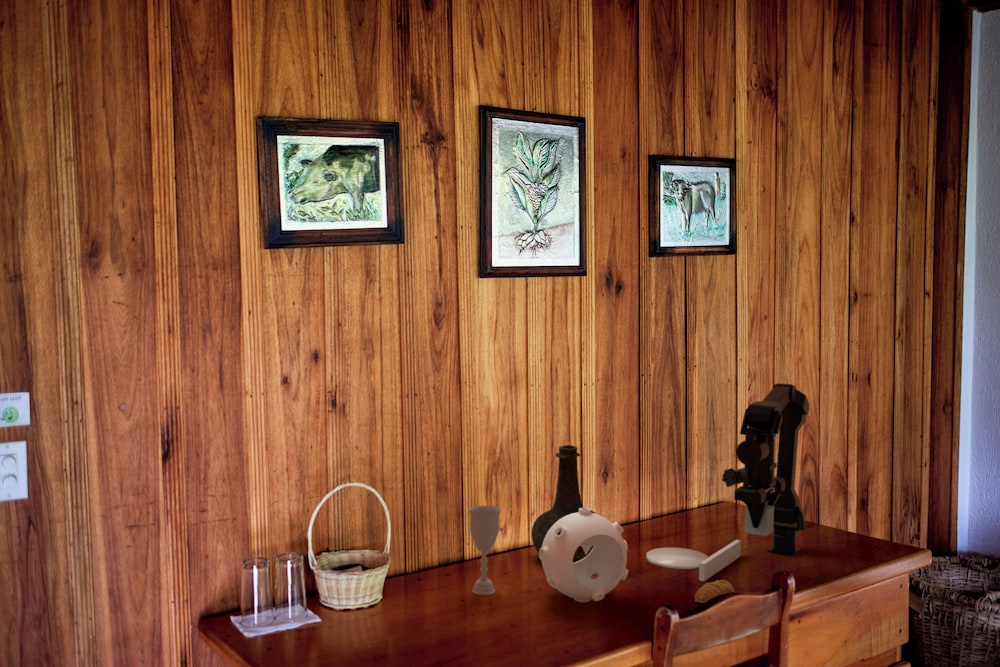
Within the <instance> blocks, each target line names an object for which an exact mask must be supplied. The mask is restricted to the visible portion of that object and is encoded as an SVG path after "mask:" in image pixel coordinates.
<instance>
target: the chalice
mask: <svg viewBox="0 0 1000 667" xmlns="http://www.w3.org/2000/svg"><path fill="white" fill-rule="evenodd" d="M467 510H468V512H469V514H470V516H469V518H470V519H469V522H470V523H469V532H470V535H471V538H472V541H473V543H474V545H475V547H476V549H477V551H479V552H481V559H480V560H479V561H480V562H481V566H480V568H479V570H480V571H481V576H480V577H479V578H478V579H477V580H476V581H475V584H474V585H473V588H472V590H471V592H472V593H473V594H476V595H481V596H486V595H487V596H488V595H492V594H494V593H495V592H496V589H495V587H494V585H493V581H492V580H490V579H489V578H488V577H487V572H488V570H489V568H488V567H487V562H489V561H488V558H487V554H488V552H490V551H491V550H492V548H493V547H494V544H495V542H496V540H497V538H498V535H499V532H500V531H499V530H500V528H499V527H500V513H501V511H502V508H500V507H497V506H493V505H474V506H473V505H472V506H470V507H468V508H467Z"/></svg>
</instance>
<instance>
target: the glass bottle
mask: <svg viewBox="0 0 1000 667" xmlns="http://www.w3.org/2000/svg"><path fill="white" fill-rule="evenodd" d="M558 450H559V451H558V452H556V453H555V456H556V458H558V471H557V472H558V474H557V482H556V484H557V485H556V490H555V491H556V492H555V498H554V503H553V506H552V507H551V509H550V510H547V511H544V512H543V513H541V514H540V515H539V516H538V517H537V518H536V519H535V521H534V523H533V525H532V528H531V541H532V544H533V546H534V548H535V550H536V551H537V553H538V554H539V550H540V548H542V544H543V541H544V538H545V536H546V534H547V532H548V531H549V529H550V528H551V527H552V526H553V525H554V524H555V523H556V522H557V521H558V520H559V519H561V518H563V517H564V516H567V515H569V514H572V513H577V512H579V509H580V508H585V507H584V506H583V503H582V498H581V493H580V487H579V486H580V485H579V471H578V457H580V456H581V453H579V452H578V447H577V446H575V445H571V444H569V445H568V444H567V445H561V446H559V447H558ZM591 513H594V514H597V513H596V512H595V511H593V510H592V509H591ZM560 534H561V531H560V532H559V533H558V535H560ZM558 535H557V536H558ZM592 548H593V546H592V547H591V548H590V550H589V551H588V553H587V554H586V555H585V552H584V550H583V548H582V546H578V548H577V549H576V551H575V554H574V557H573V563H574V562H577V561H579V560H581V559H583V558H585V557H586V556H587V555H588V554H589V553H590V552H591V550H592Z"/></svg>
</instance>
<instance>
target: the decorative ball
mask: <svg viewBox="0 0 1000 667" xmlns="http://www.w3.org/2000/svg"><path fill="white" fill-rule="evenodd" d="M591 510H592V509H591V508H588V507H584V508H580V509H579V512H577V513H572V514H569V515H567V516H564V517H563V518H561V519H559V520H558V521H557V522H556V523H555V524H554V525H553V526H552V527H551V528H550V529H549V531H548V532H547V534H546V536H545V538H544V541H543V544H542V548H540V550H539V553H538V558H539V559H540V561H541V564H542V569H543V572H544V574H545V576H546V581H547V584H548V585H549V586H551V587H552V588H553V589H556V590H557V591H559V593H561V594H563V595H564V596H566V597H568V598H572V599H574V601H575V602H579V603H587V602H590V601H591V600H593V602H599V601H602V600H603V599H605V597H606V596H605V595H607V594H608V593H610V592H611V591H612V590H614V589H615V588H616V586H618V584H619V583H620V581H625V580H626V579H627V577H628V574H629V569H628V568H626V567H627V561H628V556H627V555H628V553H627V551H628V550H629V547H628V546H629V545H628V542H627V541H626V540H625V539H624V538H623V535H622V534H623V532H625V530H624V529H623V527H622V525H620V523H619V522H618V521H615V522H611V521H610V520H609V519H607V518H605V517H604V516H602V515H600V514H597V513H596V514H594V513H591ZM560 531H561V534H560V535H558V533H559V532H560ZM557 535H558V536H557ZM578 546H582V548H583V550H584V552H585V555H586V554H587V553H588V551H589V550H590V548H591V547H592V546H593V548H592V550H591V552H590V553H589V554H588V555H587V556H586V557H585V558H583V559H581V560H579V561H577V562H574V563H573V557H574V554H575V551H576V549H577V548H578ZM594 574H595V575H597V577H596V578H592V576H593V575H594Z"/></svg>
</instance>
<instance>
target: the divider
mask: <svg viewBox="0 0 1000 667" xmlns="http://www.w3.org/2000/svg"><path fill="white" fill-rule="evenodd" d="M741 550H742V541H741V540H740V539H734V540H733V541H732V542H730V543H729V544H727V545H726V546H724V547H722V548H721V549H719V550H718V551H716V552H715V553H713V554H711V555H709V556H708V558H707V559H705V560H704V561H702V562H701V563H699V568H698V581H699V582H706V581H707V580H709V579H710V578H711V577H712V576H714V575H716V574H717V573H719V572H720V571H722V570H723V569H724V568H726V567H727V566H729V565H730V564H732V563H733V562H734V561H736V560H738V559H739V558H740V557H741V552H742V551H741Z"/></svg>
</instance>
